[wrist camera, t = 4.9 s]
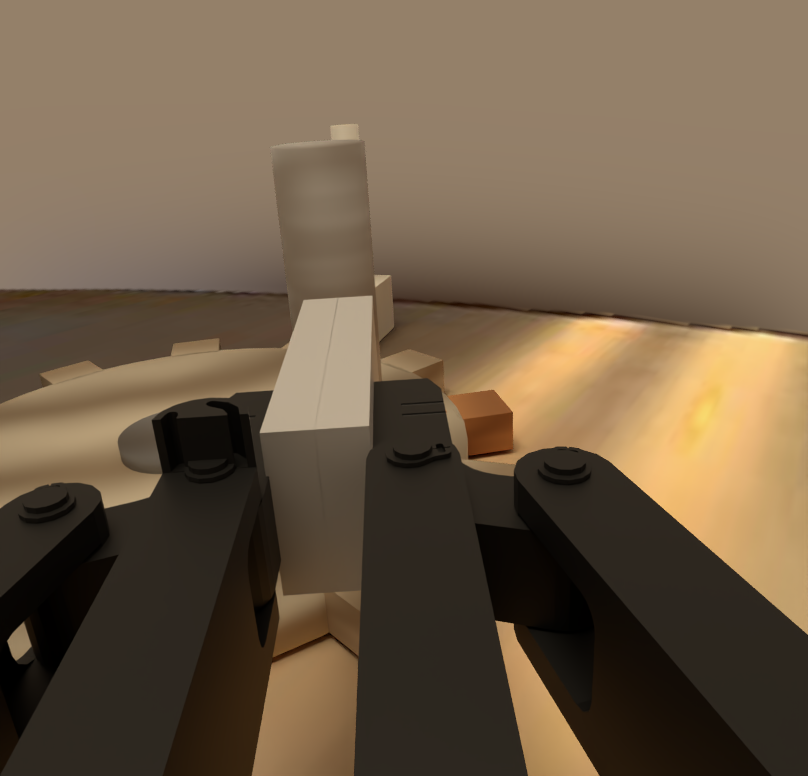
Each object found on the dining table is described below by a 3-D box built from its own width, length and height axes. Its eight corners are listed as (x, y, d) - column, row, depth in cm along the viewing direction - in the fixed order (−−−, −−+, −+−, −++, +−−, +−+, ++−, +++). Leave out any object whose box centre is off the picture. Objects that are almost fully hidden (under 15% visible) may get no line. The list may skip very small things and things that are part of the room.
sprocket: (-146, 440, 32) (-253, 160, 27) (356, 334, 41) (337, 112, 37) (-374, 978, 12) (-876, 309, 8) (678, 545, 22) (721, 126, 17)
